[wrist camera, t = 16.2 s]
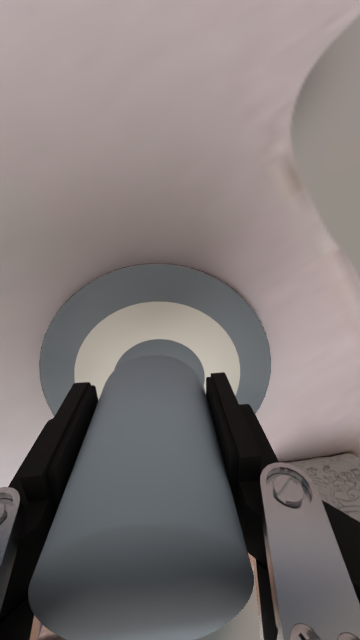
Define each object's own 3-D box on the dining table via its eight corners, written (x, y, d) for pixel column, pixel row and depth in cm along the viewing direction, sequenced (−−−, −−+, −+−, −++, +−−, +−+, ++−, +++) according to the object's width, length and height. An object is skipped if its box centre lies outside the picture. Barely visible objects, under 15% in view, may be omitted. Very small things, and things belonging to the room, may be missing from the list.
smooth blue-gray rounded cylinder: (94, 358, 10) (-3, 538, 4) (205, 351, 10) (261, 511, 4) (109, 444, 11) (55, 661, 6) (205, 436, 11) (248, 637, 6)
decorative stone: (356, 441, 27) (563, 663, 13) (351, 479, 29) (525, 706, 15) (260, 457, 27) (367, 701, 13) (261, 494, 29) (355, 739, 15)
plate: (69, 465, 25) (65, 475, 24) (17, 270, 19) (9, 272, 18) (258, 447, 27) (262, 456, 26) (275, 256, 20) (282, 258, 19)
